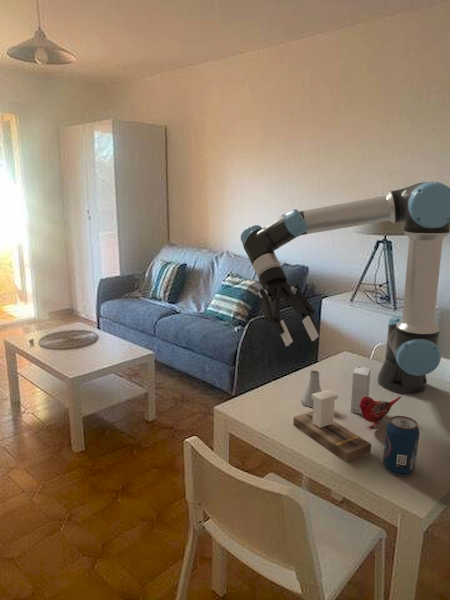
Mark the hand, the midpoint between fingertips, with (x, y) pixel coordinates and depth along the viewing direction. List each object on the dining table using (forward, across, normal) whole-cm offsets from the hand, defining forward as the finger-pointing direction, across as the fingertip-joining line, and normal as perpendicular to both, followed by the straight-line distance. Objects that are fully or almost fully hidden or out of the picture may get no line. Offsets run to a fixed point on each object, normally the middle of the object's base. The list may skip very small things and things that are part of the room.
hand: (302, 341), depth 124 cm
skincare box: (+20, -19, -13) cm, 30 cm away
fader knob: (+21, 0, -7) cm, 22 cm away
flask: (+13, -10, -20) cm, 25 cm away
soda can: (+38, -5, +5) cm, 38 cm away
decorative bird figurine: (+26, -17, -6) cm, 31 cm away
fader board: (+25, 0, -7) cm, 26 cm away
